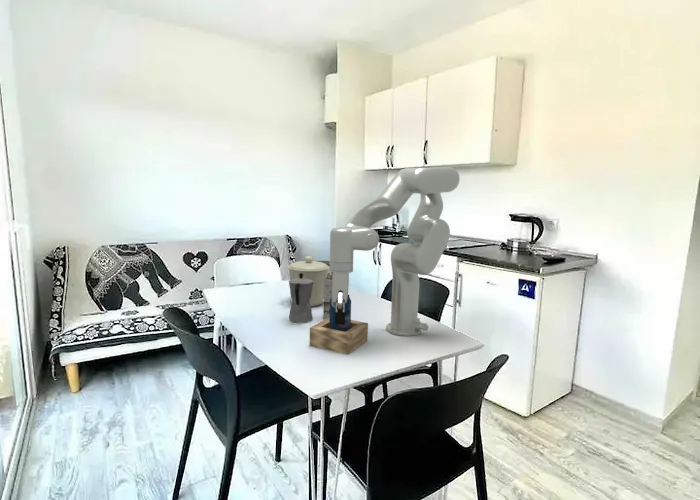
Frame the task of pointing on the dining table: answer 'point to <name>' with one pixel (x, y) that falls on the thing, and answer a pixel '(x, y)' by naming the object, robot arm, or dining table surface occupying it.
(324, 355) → the dining table surface
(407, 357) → the dining table surface
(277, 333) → the dining table surface
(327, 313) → the coffee box
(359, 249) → the robot arm
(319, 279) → the canister
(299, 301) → the coffeepot
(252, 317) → the dining table surface
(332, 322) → the soda can
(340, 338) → the square wooden tray
